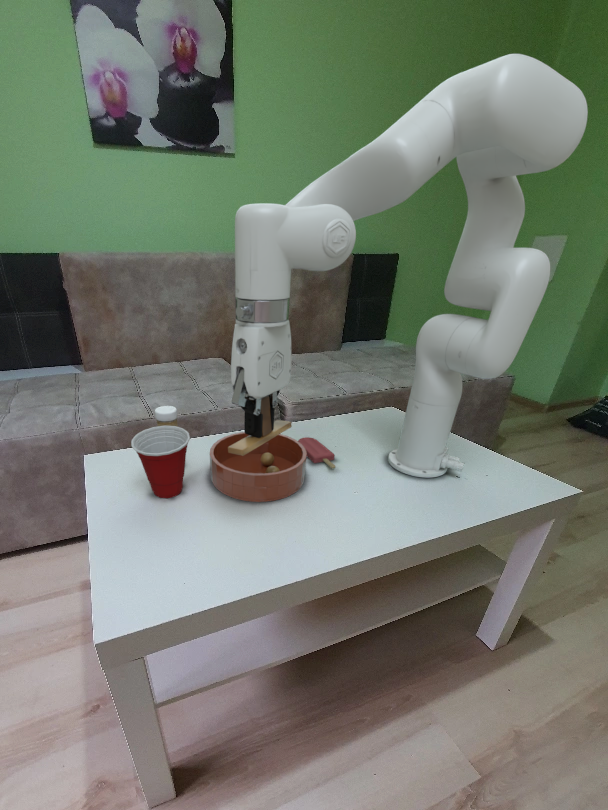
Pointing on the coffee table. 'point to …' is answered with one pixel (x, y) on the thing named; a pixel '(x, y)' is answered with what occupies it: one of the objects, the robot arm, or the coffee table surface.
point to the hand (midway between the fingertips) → (259, 431)
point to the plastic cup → (163, 458)
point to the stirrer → (267, 432)
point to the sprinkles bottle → (166, 416)
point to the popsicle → (317, 451)
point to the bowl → (258, 469)
